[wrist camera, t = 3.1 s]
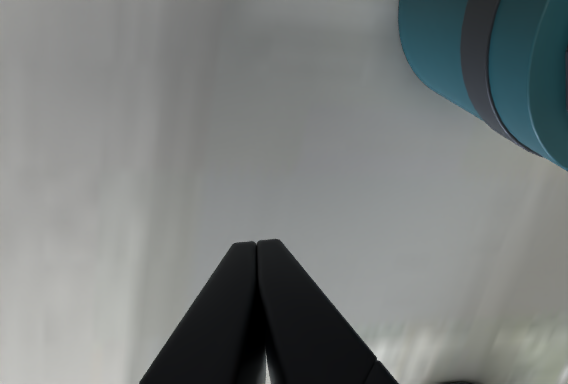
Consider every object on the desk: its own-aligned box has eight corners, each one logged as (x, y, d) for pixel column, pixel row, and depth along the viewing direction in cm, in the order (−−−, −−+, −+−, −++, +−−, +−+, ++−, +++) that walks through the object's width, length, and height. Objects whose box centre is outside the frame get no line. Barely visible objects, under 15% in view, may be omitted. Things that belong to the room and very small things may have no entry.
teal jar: (472, 139, 22) (608, 233, 15) (351, 10, 18) (459, 55, 11) (626, -10, 19) (869, 17, 13) (528, -193, 16) (801, -297, 9)
